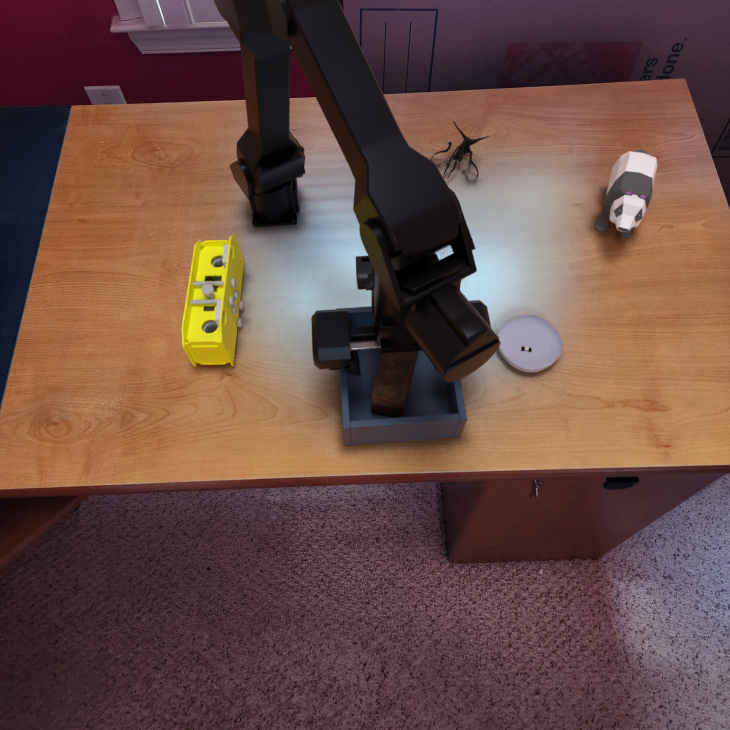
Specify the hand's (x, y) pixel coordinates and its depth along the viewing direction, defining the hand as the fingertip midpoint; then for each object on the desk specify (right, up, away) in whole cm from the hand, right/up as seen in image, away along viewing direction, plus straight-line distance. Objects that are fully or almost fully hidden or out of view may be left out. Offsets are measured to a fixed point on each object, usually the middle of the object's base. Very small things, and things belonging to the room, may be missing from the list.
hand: (397, 370), depth 69 cm
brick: (0, -1, +3) cm, 3 cm away
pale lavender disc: (+17, +3, +5) cm, 18 cm away
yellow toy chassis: (-23, +7, +8) cm, 25 cm away
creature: (+11, +33, +19) cm, 40 cm away
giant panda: (+32, +21, +15) cm, 41 cm away
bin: (0, -2, +3) cm, 3 cm away
